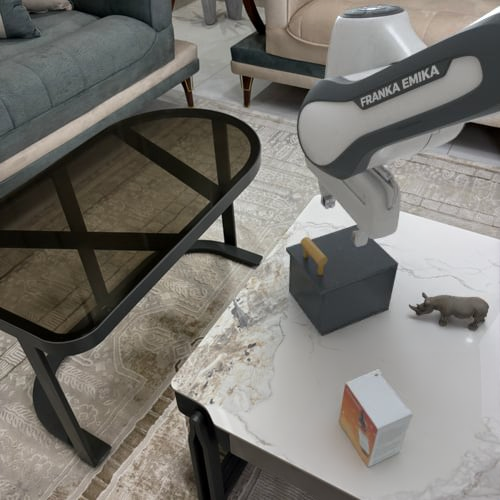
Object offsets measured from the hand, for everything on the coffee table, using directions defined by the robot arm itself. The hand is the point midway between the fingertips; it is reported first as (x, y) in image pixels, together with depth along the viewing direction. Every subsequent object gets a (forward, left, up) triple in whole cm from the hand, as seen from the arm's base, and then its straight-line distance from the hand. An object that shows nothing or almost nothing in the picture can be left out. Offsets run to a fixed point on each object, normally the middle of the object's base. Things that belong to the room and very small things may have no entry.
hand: (342, 223), depth 74 cm
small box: (-17, +12, -24) cm, 32 cm away
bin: (+4, -7, -24) cm, 25 cm away
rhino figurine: (-13, -16, -24) cm, 32 cm away
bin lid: (+4, -7, -13) cm, 15 cm away
